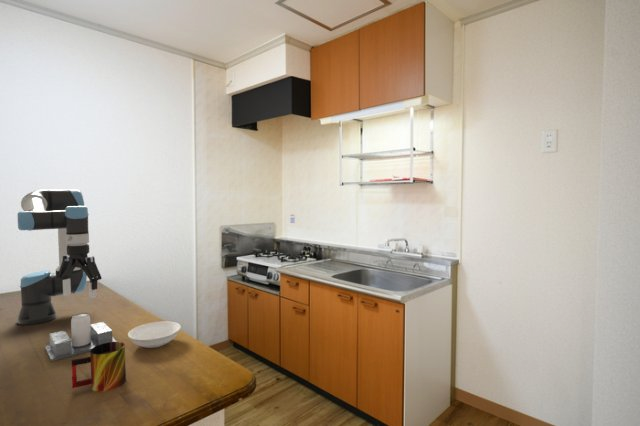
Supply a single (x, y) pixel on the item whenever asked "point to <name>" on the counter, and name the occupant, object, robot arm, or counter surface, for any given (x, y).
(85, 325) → the can
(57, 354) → the gray metal fixture
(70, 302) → the counter surface
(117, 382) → the mug
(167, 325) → the bowl
